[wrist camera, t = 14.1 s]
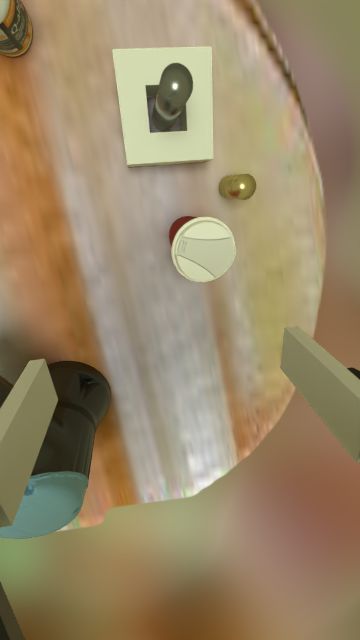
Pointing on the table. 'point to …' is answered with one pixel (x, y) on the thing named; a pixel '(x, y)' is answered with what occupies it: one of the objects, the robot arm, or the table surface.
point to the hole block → (143, 81)
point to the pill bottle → (14, 28)
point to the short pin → (237, 186)
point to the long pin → (171, 95)
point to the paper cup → (201, 247)
